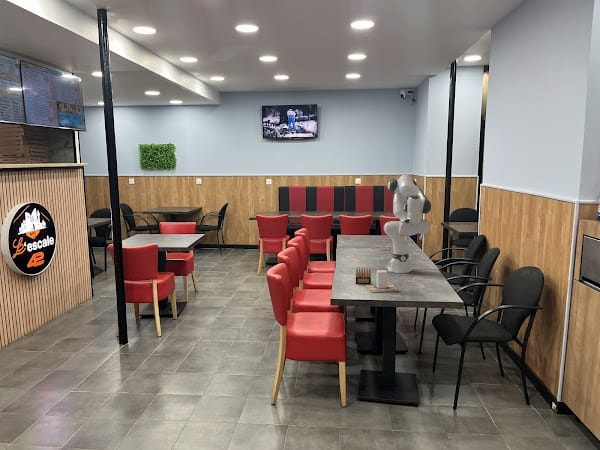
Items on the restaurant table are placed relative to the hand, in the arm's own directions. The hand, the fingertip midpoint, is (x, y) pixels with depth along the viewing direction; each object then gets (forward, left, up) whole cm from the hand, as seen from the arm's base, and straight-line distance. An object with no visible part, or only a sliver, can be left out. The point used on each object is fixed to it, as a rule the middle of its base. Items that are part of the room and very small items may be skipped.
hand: (413, 239), depth 302 cm
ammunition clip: (-7, -33, -31) cm, 46 cm away
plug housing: (+7, -24, -30) cm, 39 cm away
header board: (+7, -24, -31) cm, 40 cm away
